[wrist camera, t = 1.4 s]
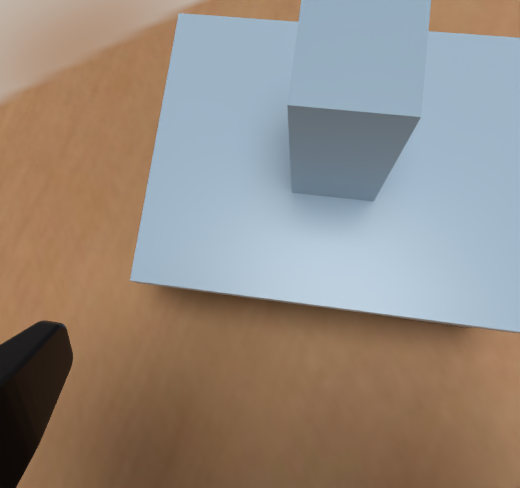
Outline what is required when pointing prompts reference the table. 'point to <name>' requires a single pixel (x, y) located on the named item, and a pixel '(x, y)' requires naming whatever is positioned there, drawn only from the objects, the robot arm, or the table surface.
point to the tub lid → (340, 165)
